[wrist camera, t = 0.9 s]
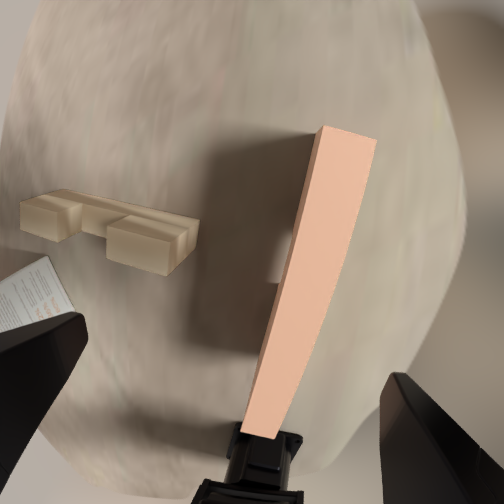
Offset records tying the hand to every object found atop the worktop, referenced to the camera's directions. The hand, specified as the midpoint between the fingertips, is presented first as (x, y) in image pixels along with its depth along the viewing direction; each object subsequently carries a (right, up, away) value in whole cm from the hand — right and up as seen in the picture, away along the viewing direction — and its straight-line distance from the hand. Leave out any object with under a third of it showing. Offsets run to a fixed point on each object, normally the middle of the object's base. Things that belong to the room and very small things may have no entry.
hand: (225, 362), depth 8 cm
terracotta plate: (+4, +2, +13) cm, 13 cm away
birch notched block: (-9, +6, +14) cm, 17 cm away
